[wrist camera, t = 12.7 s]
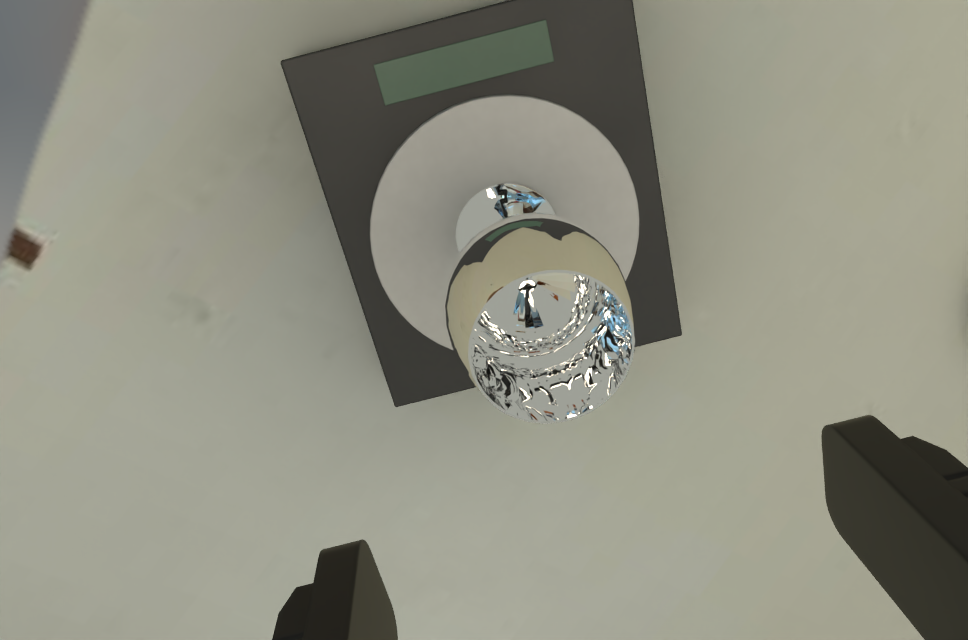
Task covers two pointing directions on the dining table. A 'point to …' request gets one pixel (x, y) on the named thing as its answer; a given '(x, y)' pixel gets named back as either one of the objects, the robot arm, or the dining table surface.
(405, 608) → the dining table surface
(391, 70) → the scale
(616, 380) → the wineglass
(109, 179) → the dining table surface
